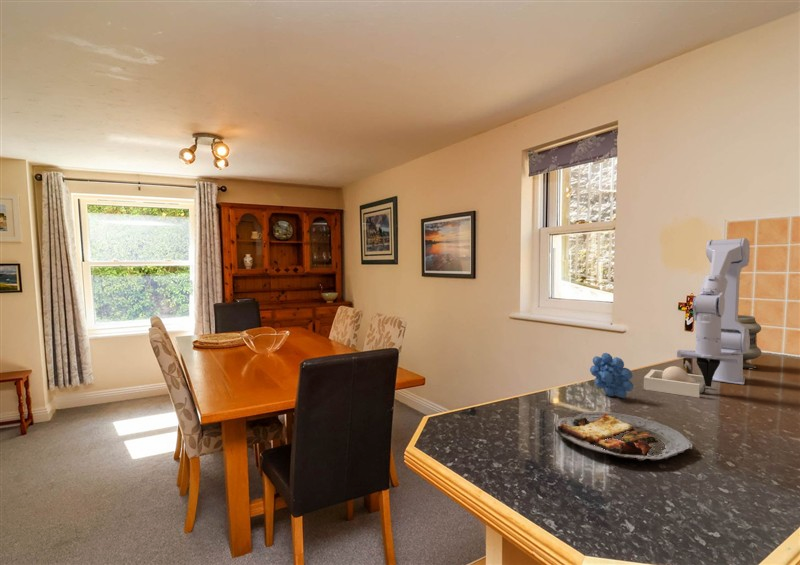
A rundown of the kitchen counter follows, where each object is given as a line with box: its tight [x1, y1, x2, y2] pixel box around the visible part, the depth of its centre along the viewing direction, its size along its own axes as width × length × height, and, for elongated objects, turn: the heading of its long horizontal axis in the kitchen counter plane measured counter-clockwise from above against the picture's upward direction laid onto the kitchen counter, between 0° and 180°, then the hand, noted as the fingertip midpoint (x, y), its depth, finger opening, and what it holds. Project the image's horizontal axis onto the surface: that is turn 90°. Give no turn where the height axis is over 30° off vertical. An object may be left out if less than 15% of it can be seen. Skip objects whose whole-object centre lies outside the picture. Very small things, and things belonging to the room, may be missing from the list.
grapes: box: [589, 352, 634, 399], centre depth 114 cm, size 12×7×12 cm, turn 39°
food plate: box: [553, 411, 694, 462], centre depth 85 cm, size 25×23×4 cm
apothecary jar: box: [721, 314, 762, 368], centre depth 146 cm, size 12×12×18 cm
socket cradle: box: [643, 368, 705, 399], centre depth 121 cm, size 12×13×4 cm
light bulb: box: [662, 365, 707, 394], centre depth 119 cm, size 7×7×11 cm
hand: (708, 385), depth 116 cm, fingers closed
